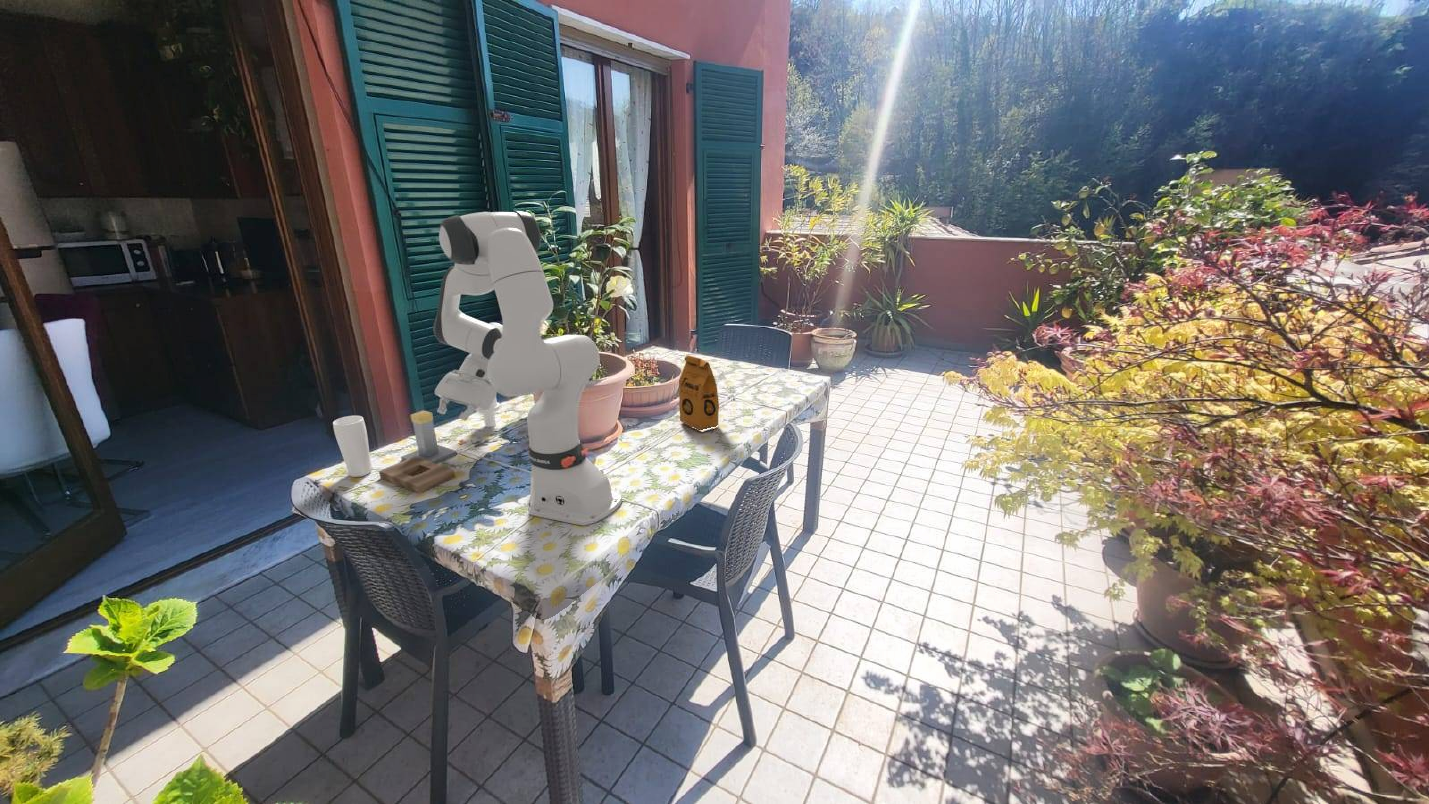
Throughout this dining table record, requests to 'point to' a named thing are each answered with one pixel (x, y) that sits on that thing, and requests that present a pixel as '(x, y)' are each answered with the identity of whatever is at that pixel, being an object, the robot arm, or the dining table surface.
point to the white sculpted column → (490, 413)
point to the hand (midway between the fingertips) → (451, 416)
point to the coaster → (442, 455)
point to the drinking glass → (353, 444)
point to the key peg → (425, 433)
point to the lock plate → (421, 482)
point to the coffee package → (698, 394)
